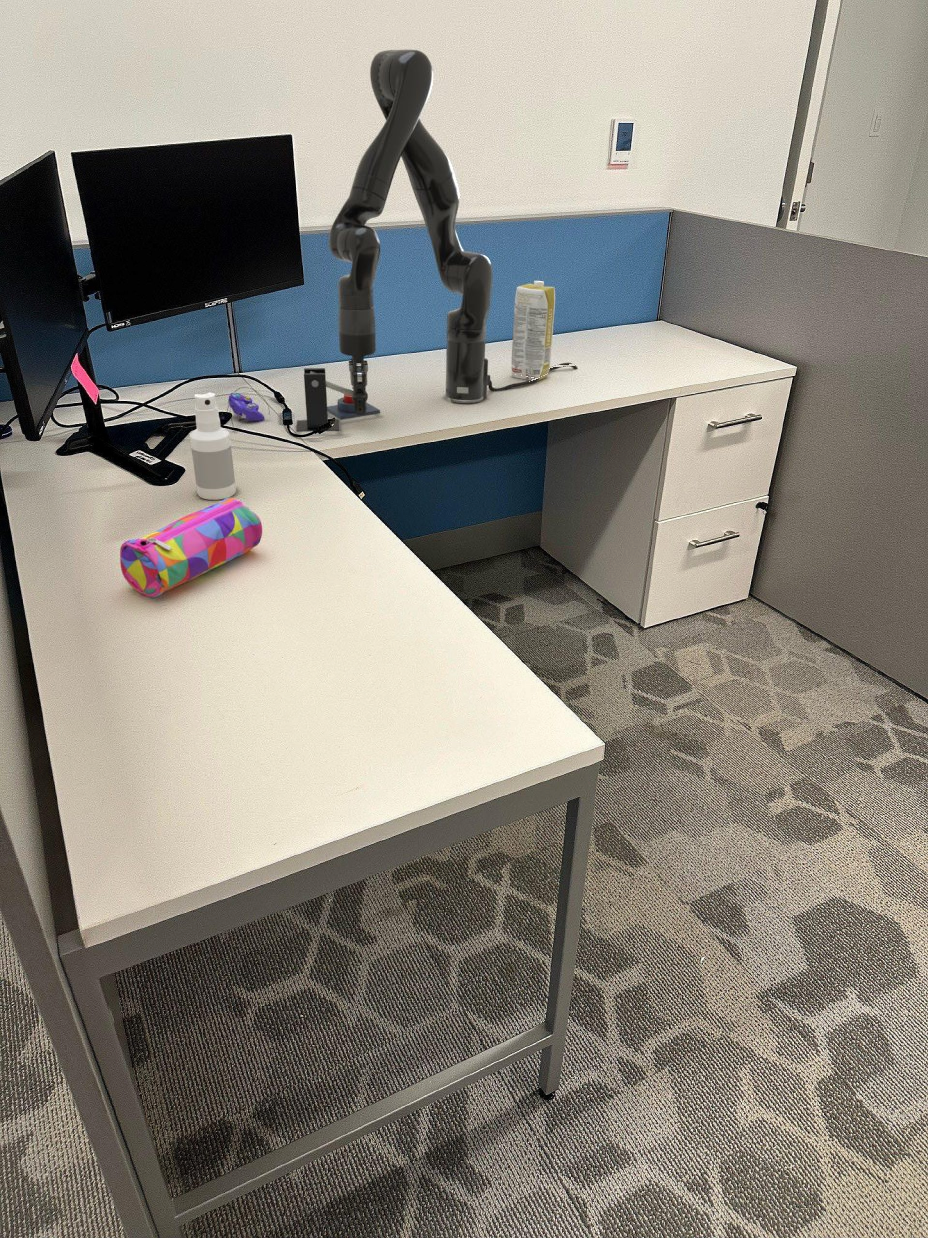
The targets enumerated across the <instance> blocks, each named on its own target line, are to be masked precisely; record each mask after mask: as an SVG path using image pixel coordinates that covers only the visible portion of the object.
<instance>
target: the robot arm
mask: <svg viewBox="0 0 928 1238" xmlns="http://www.w3.org/2000/svg"><path fill="white" fill-rule="evenodd" d="M369 77H370V78H369V79H370V85H371V89H372V92H373V93H374V97H375V99H376V102H377V104H378V106H379V108H380V110H381V113H382V115H383V117H384V119H385V122H384V124H383V126H382V127H381V129H380V130H379V132H378V134H377V135H376V136H375V138H374V139H373V140H372V141H371V143H370V144H369V145H368V148H367V149H366V150H365V152H364V153H363V155H362V156H361V158H360V161H359V163H358V166H357V168H356V171H355V175H354V178H353V181H352V184H351V189H350V191H349V195H348V197H347V198H346V200H345V202H344V203H343V205H342V206H341V208H340V210H339V212H338V214H337V216H336V218H335V219H334V221H333V223H332V225H331V228H330V230H329V234H328V248H329V250H330V252H331V255H332V256H333V257H334V258H335V259H337V260H338V261H342V262H347V263H351V268H350V272H349V274H345V275H343V276H341V277H340V278H339V280H338V283H337V287H338V288H337V289H338V290H337V291H338V316H337V317H338V320H337V322H338V337H339V338H338V343H339V353H341V355H344V356H348V357H351V358H350V359H349V360H348V371H349V377H350V378H349V379H350V385H351V387H352V388H351V390H352V391H354V393H353V396H354V401H355V402H354V408H355V414H356V415H364V414H365V397H366V392H367V386H368V372H369V363H368V360H367V359H366V360H365V357H366V356H368V357H369V356H373V355H374V354H375V353H376V351H377V348H376V347H377V343H376V341H377V340H376V315H375V310H374V309H375V308H374V283H375V280H376V276H377V272H378V271H377V270H378V266H379V261H380V256H381V242H380V239H379V236H378V233H377V232H376V230H375V229H374V228H372V227H371V226H369V225H366V224H367V223H368V221H369V220H371V219H374V218H378V217H380V216H381V215H382V213H383V211H384V209H385V206H386V203H387V199H388V196H389V192H390V190H391V187H392V182H393V180H394V176H395V173H396V170H397V168H398V165H399V163H400V160H402V162H403V164H404V168H405V170H406V172H407V176H408V179H409V182H410V186H411V189H412V191H413V194H414V198H415V200H416V202H417V205H418V207H419V210H420V212H421V216H422V218H423V221H424V224H425V227H426V231H427V233H428V236H429V239H430V243H431V247H432V250H433V255H434V259H435V263H436V267H437V271H438V275H439V278H440V281H441V283H442V286H443V287H444V288H445V289H446V290H447V291H449V293H450V292H451V293H453V294H457V295H461V296H462V297H461V304H460V307H459V308H457V309H453V310H450V311H449V312H448V313H447V315H446V350H445V351H446V352H445V393H444V397H445V398H449V400H450V402H451V403H456V404H474V403H475V404H476V403H480V402H482V401H484V400H486V399H488V398H487V397H488V390H490V391H491V392H502V391H507V390H510V389H513V388H514V389H515V388H520V387H524V386H529V385H532V384H535V383H536V382H539V381H540V380H539V379H536V380H533V381H531V380H525V381H521V382H515V383H510V384H508V385H505V386H502V387H497V388H496V387H493V382H492V380H491V375H490V374H489V372H488V371H489V360H488V358H487V357H486V339H487V338H486V337H487V336H486V335H487V334H486V333H487V319H488V317H489V315H490V310H491V301H492V290H493V289H492V288H493V266H492V262H491V261H490V259H489V257H487V255H484V254H482V253H478V252H472V251H466V250H464V248H463V247H462V245H461V242H460V239H459V237H458V234H457V229H456V228H457V227H456V220H457V215H458V210H459V206H460V197H461V196H460V195H461V194H460V188H459V185H458V182H457V178H456V175H455V171H454V168H453V166H452V163H451V161H450V159H449V157H448V156H447V154H446V153H445V150H444V149H443V148H442V146H440V144H439V143H438V142H437V141H436V139H435V138H434V137H433V136H432V134H431V133H430V132H429V131H428V130H427V129H426V127H425V126H424V124H423V123H422V121H421V119H420V117H421V115H422V113H423V111H424V109H425V106H426V105H427V103H428V99H429V97H430V94H431V91H432V88H433V83H434V69H433V65H432V63H431V60H430V59H429V57H428V56H427V55H426V53H424V51H421V50H419V49H387V50H382V51H379V52H378V53H376V54H375V55H374V57H373V58H372V60H371V63H370V69H369ZM569 364H573V363H572V362H563V363H559V364H558V365H569ZM574 365H575V364H574ZM552 367H553V366H552ZM564 367H566V366H563V367H553V368H550V369H549V372H550V371H555V370H558V369H560V368H564ZM569 367H571V368H573V370H578V369H579V368H578V366H576V365H575V366H569ZM538 380H539V381H538ZM529 381H530V382H529ZM358 388H362V389H363V391H356V389H358Z"/></svg>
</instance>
